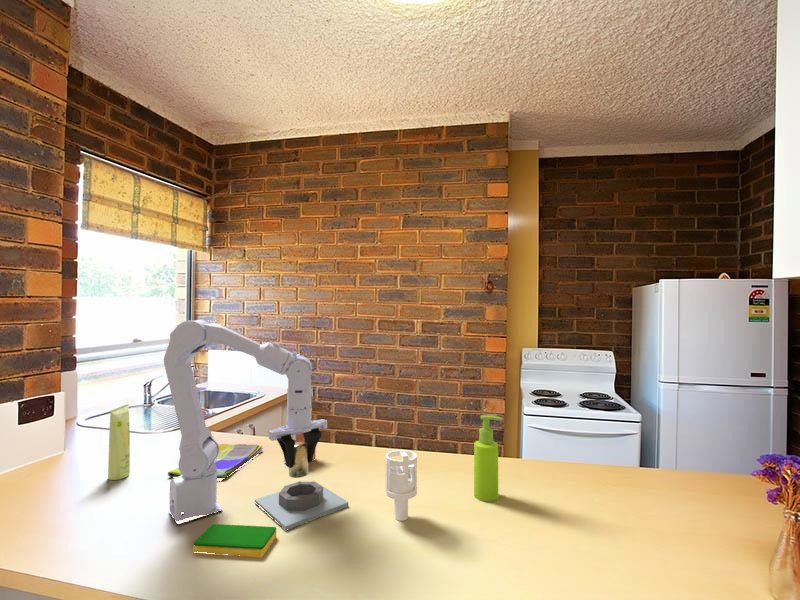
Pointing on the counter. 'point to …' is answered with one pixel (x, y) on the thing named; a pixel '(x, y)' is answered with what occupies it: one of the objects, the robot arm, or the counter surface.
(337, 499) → the ring plate
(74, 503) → the counter surface
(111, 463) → the tube
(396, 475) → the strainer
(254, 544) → the dish sponge
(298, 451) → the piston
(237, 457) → the dish towel
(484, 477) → the soap dispenser
